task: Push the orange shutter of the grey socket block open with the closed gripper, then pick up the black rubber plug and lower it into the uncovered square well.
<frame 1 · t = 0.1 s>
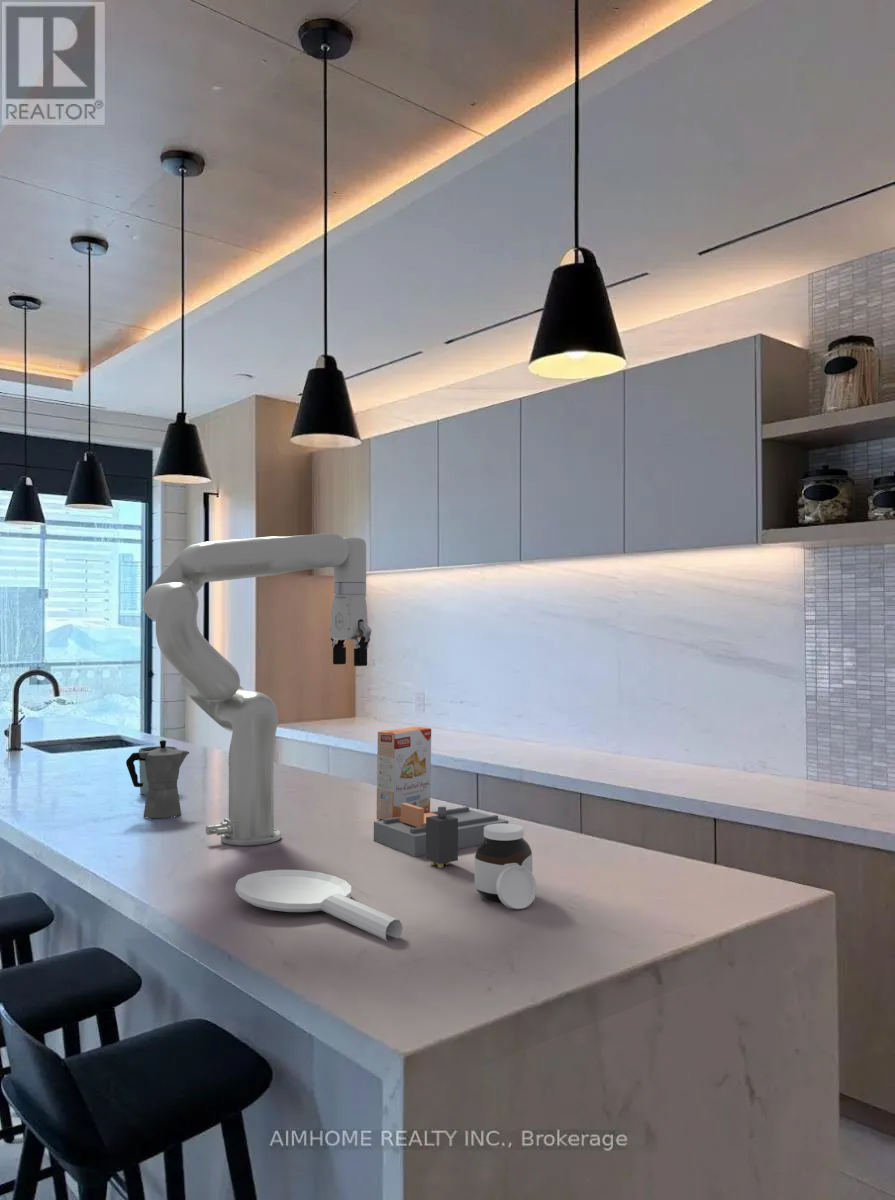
hand: (349, 665, 205), 37 cm above the counter, fingers open, 9 cm apart
cracker box: (404, 817, 213), on the counter
spread jar: (509, 901, 149), on the counter
shutter: (425, 812, 188), point 6 cm above the counter, slide at 0.0 cm
coffeepot: (158, 816, 214), on the counter
frying pan: (322, 915, 143), on the counter
plug: (441, 864, 171), on the counter
socket block: (441, 840, 190), on the counter
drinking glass: (157, 793, 243), on the counter
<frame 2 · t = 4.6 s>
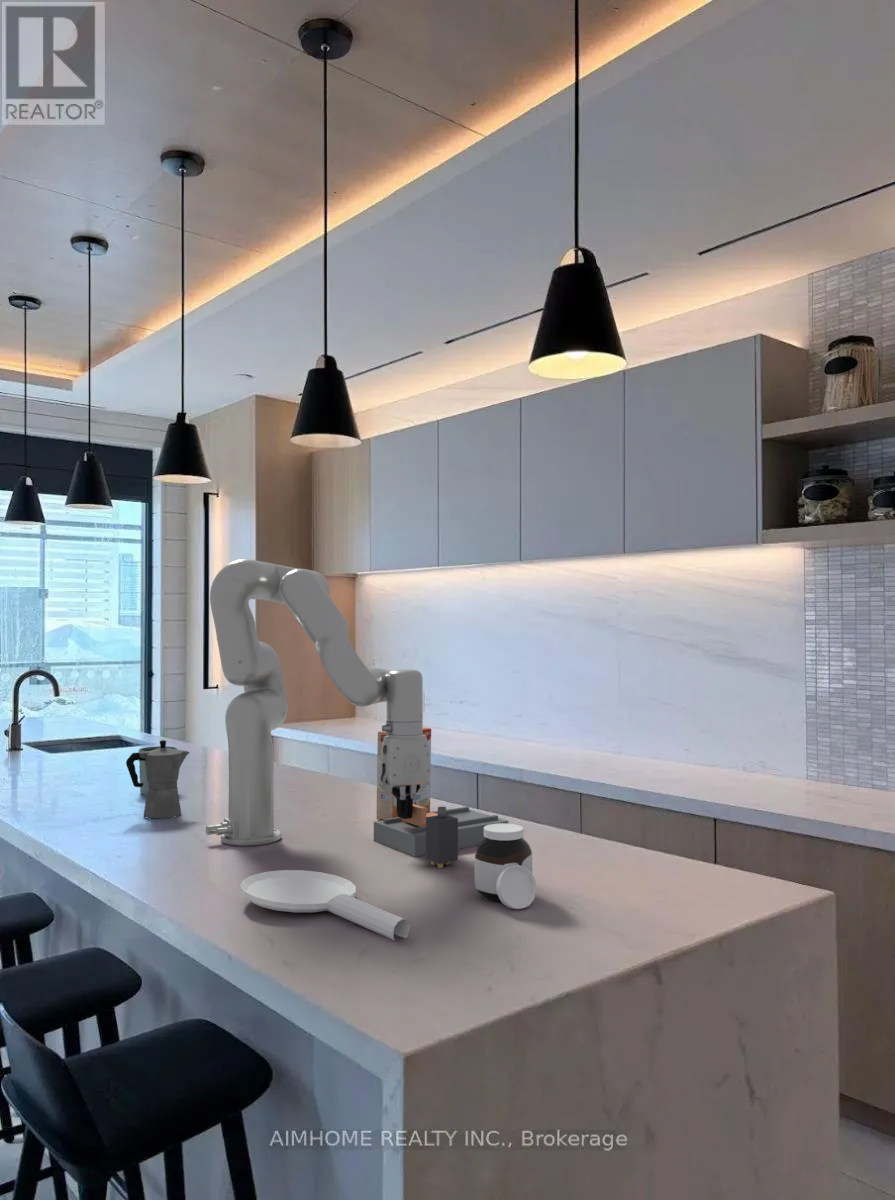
hand: (404, 817, 185), 6 cm above the counter, fingers closed
shutter: (428, 812, 188), point 6 cm above the counter, slide at 0.6 cm, touching gripper
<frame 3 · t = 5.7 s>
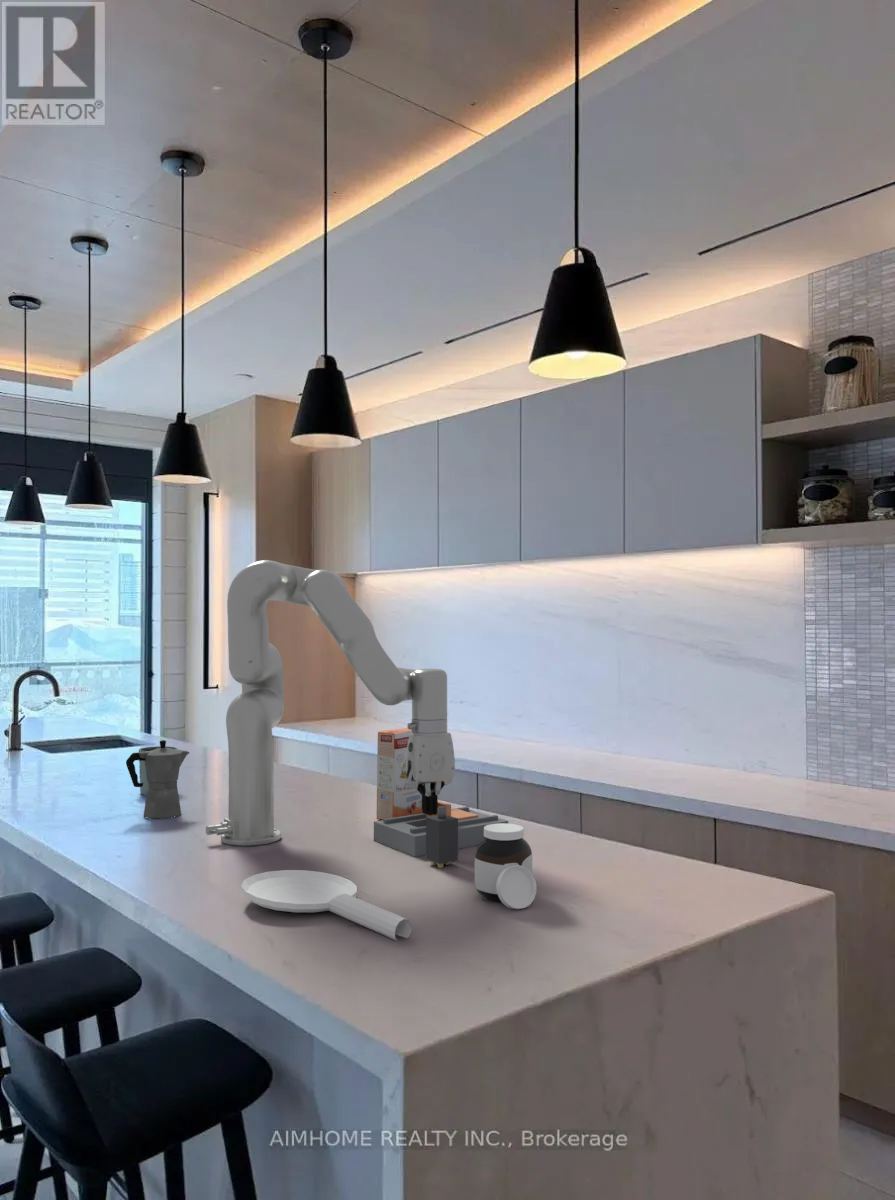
hand: (429, 813, 188), 6 cm above the counter, fingers closed
shutter: (452, 809, 192), point 6 cm above the counter, slide at 6.9 cm, touching gripper
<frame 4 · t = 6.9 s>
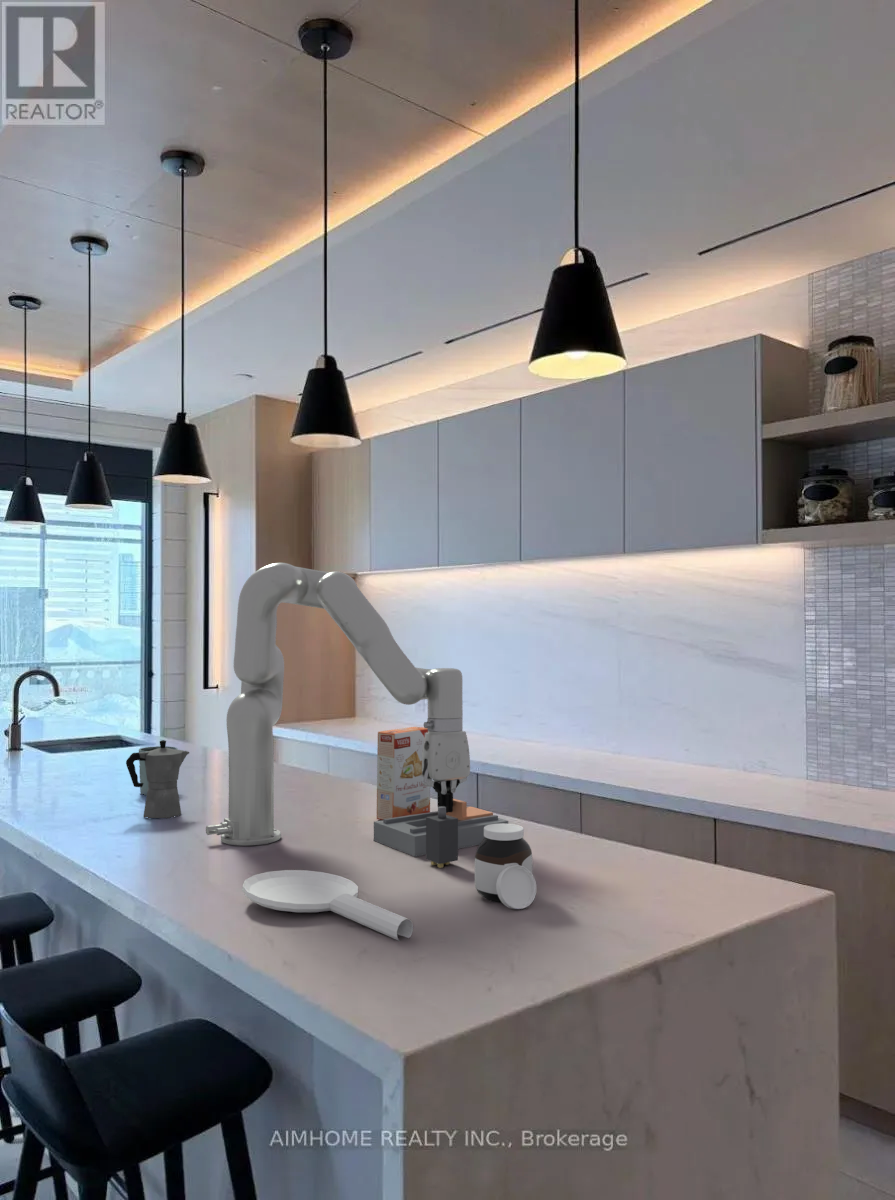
hand: (445, 811, 191), 6 cm above the counter, fingers closed
shutter: (467, 806, 194), point 6 cm above the counter, slide at 11.0 cm, touching gripper
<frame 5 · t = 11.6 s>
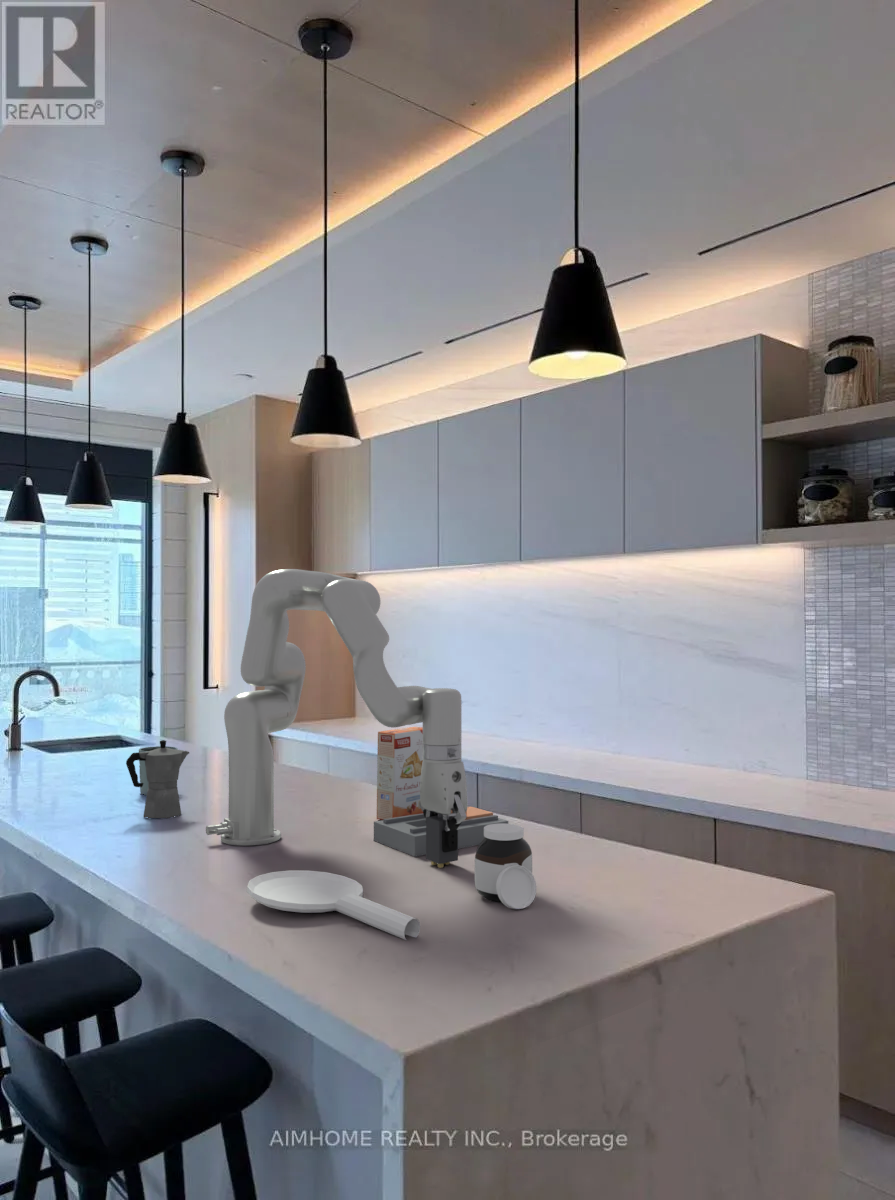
hand: (442, 847, 171), 3 cm above the counter, fingers closed on plug, 4 cm apart
shutter: (467, 806, 194), point 6 cm above the counter, slide at 11.0 cm
plug: (442, 864, 171), on the counter, touching gripper
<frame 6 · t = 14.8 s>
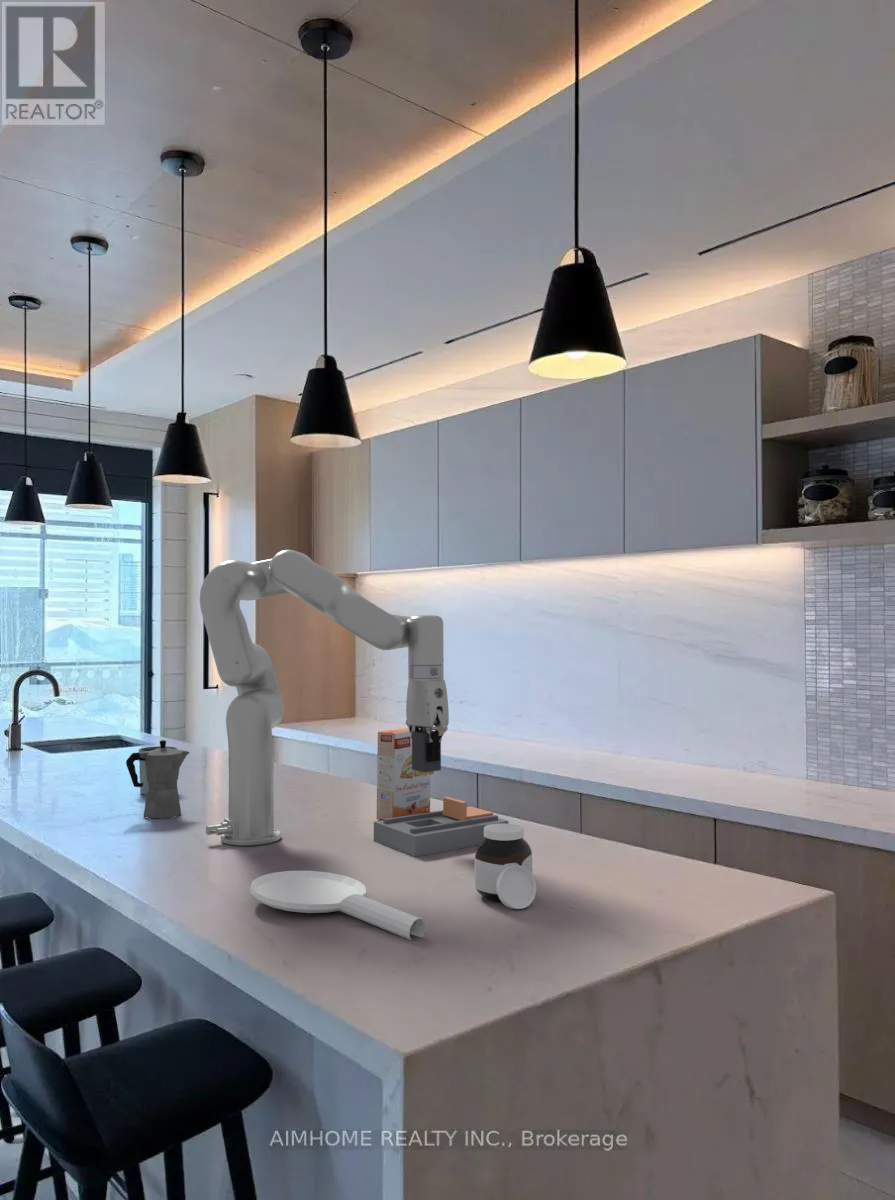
hand: (426, 758, 188), 18 cm above the counter, fingers closed on plug, 4 cm apart
plug: (426, 774, 188), point 14 cm above the counter, touching gripper
when the fingers open (5 cm above the counter, at t = 17.8 s): plug drops 2 cm, resting in socket block.
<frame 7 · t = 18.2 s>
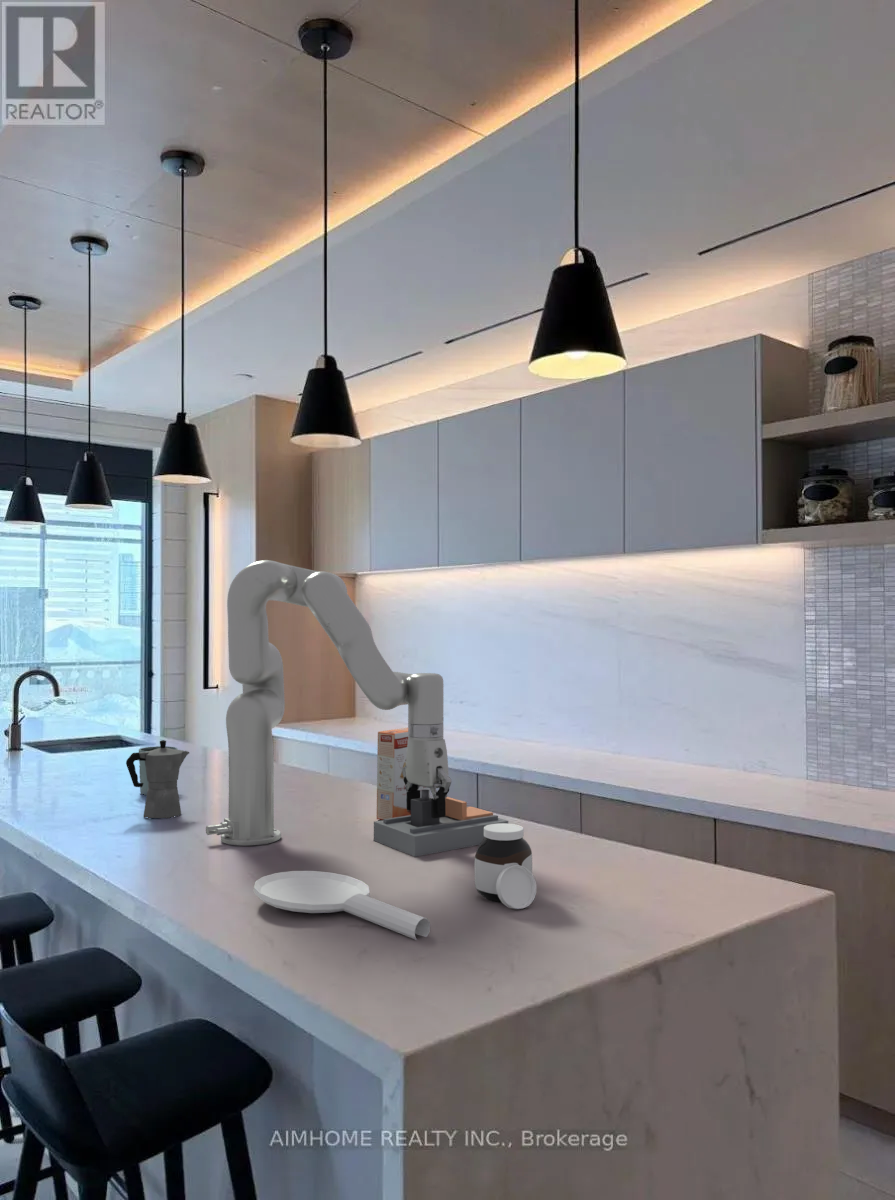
hand: (425, 813, 188), 6 cm above the counter, fingers open, 9 cm apart
plug: (425, 842, 188), resting in socket block
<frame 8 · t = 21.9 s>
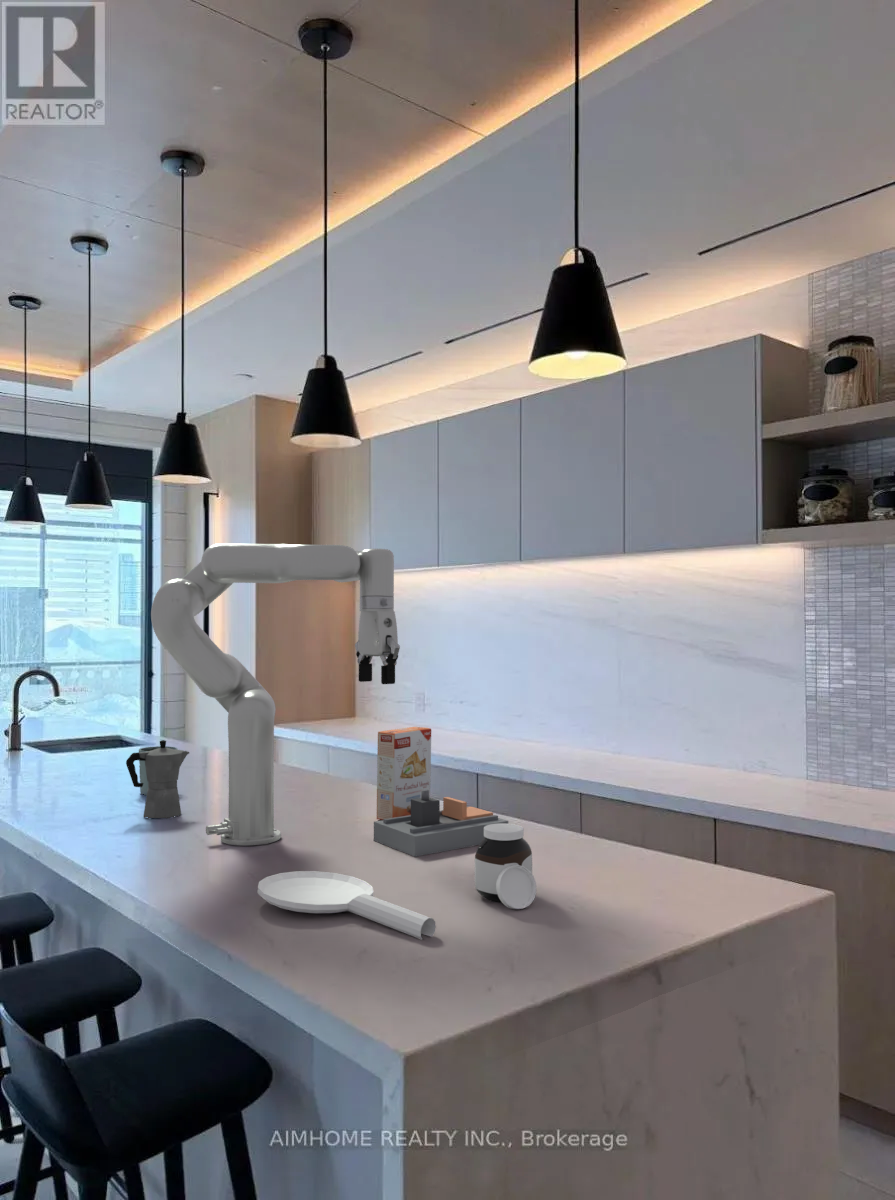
hand: (376, 682, 195), 33 cm above the counter, fingers open, 9 cm apart
at the end: shutter slide at 11.0 cm; plug 0.2 cm from the target spot on the socket block, point 0.0 cm above the socket block's base; plug tilted 0° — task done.
